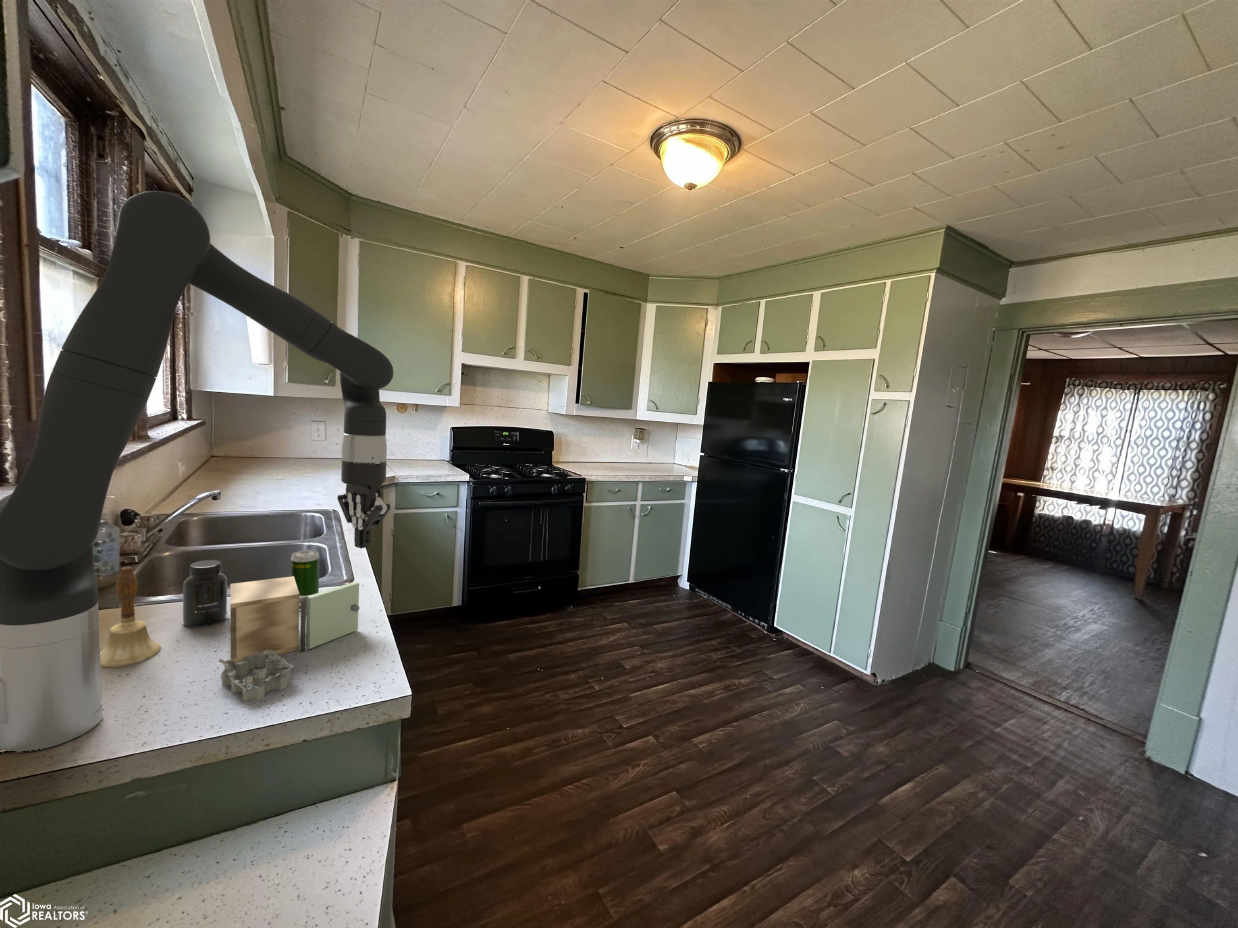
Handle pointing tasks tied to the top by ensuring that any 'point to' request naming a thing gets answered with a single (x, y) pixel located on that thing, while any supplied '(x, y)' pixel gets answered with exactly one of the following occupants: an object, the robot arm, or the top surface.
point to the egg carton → (257, 674)
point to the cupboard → (266, 617)
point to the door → (331, 614)
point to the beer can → (305, 572)
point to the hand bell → (128, 629)
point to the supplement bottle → (204, 594)
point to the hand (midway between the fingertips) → (362, 546)
